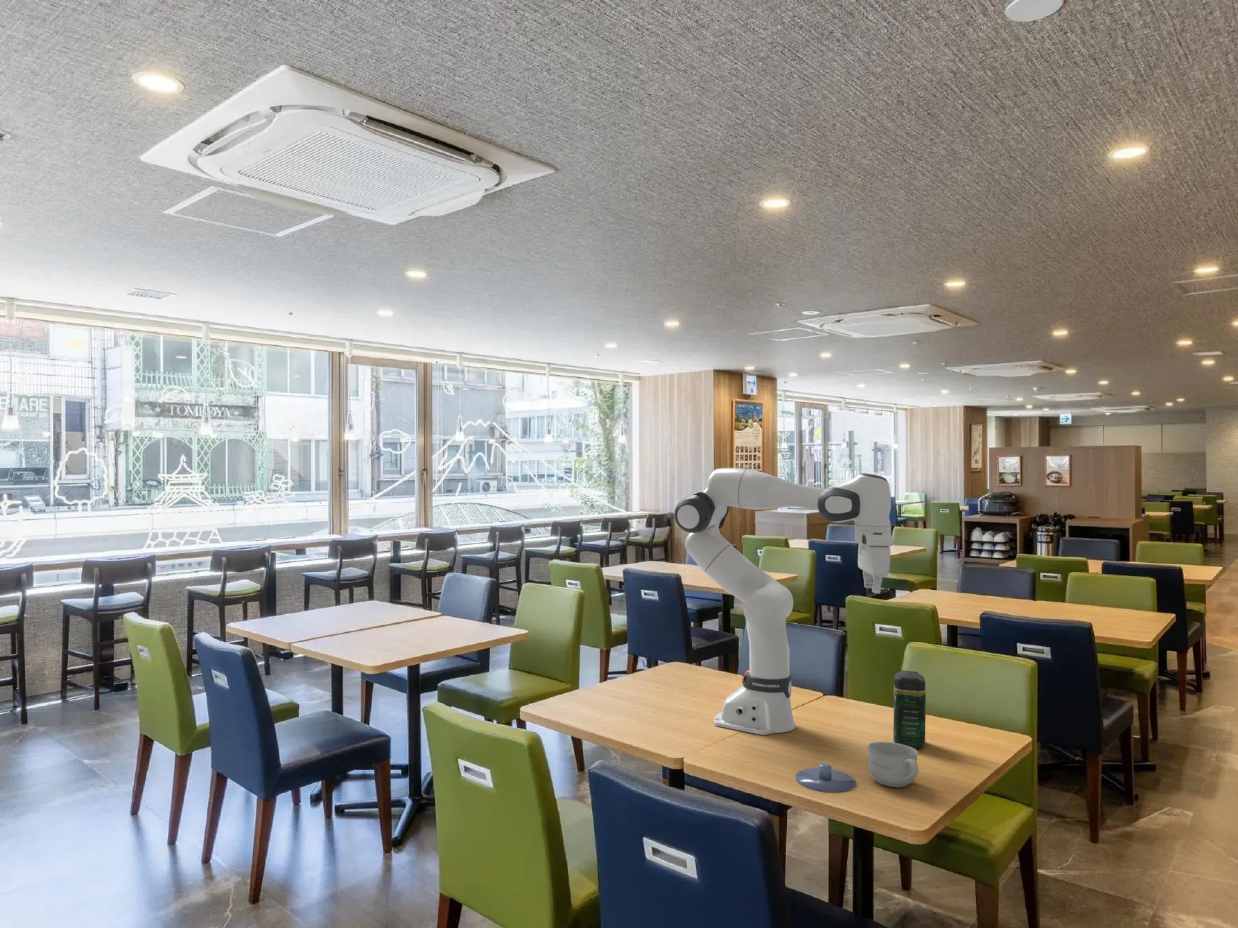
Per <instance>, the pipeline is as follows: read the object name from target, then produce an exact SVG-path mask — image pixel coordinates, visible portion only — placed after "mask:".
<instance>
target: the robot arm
mask: <svg viewBox="0 0 1238 928" xmlns="http://www.w3.org/2000/svg"><path fill="white" fill-rule="evenodd" d="M706 484H707V486H706V488H704V489H700V490H697V491H695V492H693V493H691V494H690V495H687V496H685V497H684V498H682V499H681V500H680V501H679V502H678V503H677V504H676V506H675V507H674V508H675V510H674V521H675V523H676V524H677V526H678V527H679V528H680V529H681V530H682V531H684V532H686V533H688V534H687V536H686V538H685V541H684V549H685V550H686V551H687V553H688V555H689V556H690V557H691V559H692V560H693V561H694V562H695V564H697V566H698V567H699V568H700V569H701V570H702V571H703V572H704V573H705V574H706V575H708V577H709V578H711V580H713V582H715V583H716V584H717V585H718V586H719V587H720V588H721V589H722V590H723V591H724V592H726V593H727V594H730V595H732V596H734V597H736V598H737V599H738V600H740V601H741V602H743V603H744V605H743V615H744V618H745V625H746V630H747V631H746V632H747V638H748V645H749V650H748V651H749V652H748V653H749V656H748V657H749V661H748V662H749V663H748V664H749V670H746V671H745V672H744V673H743V675H742V677H741V683H742V686H740V687H739V688H738V689H736V690H735V691H733V692H732V693H731V694H729V695H728V696H727V697H726V698H725V699H724V701H723V704H722V709H721V711H720V712H718V713H717V714H716V715H715V716H714V718H713V724H714V726H716V727H722V728H727V729H730V730H735V731H740V732H747V733H751V734H754V735H760V736H761V735H762V736H765V735H771V734H776V733H777V734H780V733H787V732H791V731H793V730H794V729H795V728H796V722H795V719H794V715H793V711H792V710H793V709H792V703H791V702H792V701H791V696H792V678H791V677H792V676H791V674H790V645H789V641H788V634H787V633H788V632H787V626H786V625H787V624H786V622H787V621H786V620H787V618H788V617H789V616H790V615H791V613H792V611H793V608H794V597H793V594H792V593H791V591H790V589H789V588H788V587H786V586H785V585H783V584H781V583H780V582H779V581H777V580H776V579H775V578H774V577H772V576H771V575H770V574H768V572H767V573H766V572H765V571H764V570H762V569H761V568H759V567H758V566H757V565H755V564H754V563H753V562H751V561H750V560H749V559H748V558H747V557H746V556H744V554H743V553H741V552H740V551H739V550H738V549H737V548H736V547H734V545H733V544H731V543H730V542H729V541H728V540H727V539H726V538H725V537H724V536H723V535H722V534H721V533H720V529H721V528H723V527H724V524H725V521H726V519H727V517H728V514H729V513H730V508H731V507H733V508H734V507H735V508H739V509H744V510H757V511H760V510H761V511H763V510H767V511H768V510H773V509H779V508H780V509H781V508H788V507H791V508H793V507H795V508H796V507H797V508H803V509H810V510H816V511H818V513H819V514H820V516H821V517H822V518H823V519H825V520H827V521H829V522H831V523H836V524H837V523H845V522H849V523H851V522H854V543H855V544H858V550H857V552H858V553H857V567H858V569H860V570H862V575H863V577H862V578H863V581H864V582H863V584H864V585H863V587H864V588H865V589H871V592H872V593H873V594H880V593H881V592H882V591H881V587H882V583H883V578H886V577H888V575H889V572H890V563H891V547H893V544H894V540H893V536H892V527H891V525H892V524H891V519H890V512H891V511H892V499H891V498H892V496H891V487H890V483H889V481H888V480H887V478H885V477H884V476H882V475H881V476H880V475H878V474H877V475H876V474H872V473H866V472H865V473H864V472H863V473H859V474H858V475H856V476H855V477H853V478H852V479H850V480H847V481H845V482H844V483H840V484H837V485H834V486H830V487H828V488H826V487H825V488H824V487H819V486H818V487H817V486H811V485H804V484H800V483H795V482H792V481H788V480H786V479H783V478H780V477H778V476H775V475H772V474H769V473H765V472H763V471H759V470H754V469H750V468H739V467H722V468H721V467H719V468H716V469H714V470H713V471H712V472H711V474H710V475H709V477H708V479H707V483H706Z"/></svg>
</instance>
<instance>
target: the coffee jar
mask: <svg viewBox="0 0 1238 928" xmlns="http://www.w3.org/2000/svg"><path fill="white" fill-rule="evenodd" d="M926 695H927V694H926V679H925V677H924V676H923V675H922V674H920V673H919V672H917V671H913V670H910V671H909V670H904V669H903V670H901V671H899V672H897V673H895V675H894V677H893V734H892V735H893V743H898V744H902V745H906V746H909V747H912V748H914V749H915V750H916V749H924V748H925V745H926V716H927V715H926V714H927V712H926V711H927V710H926V709H927V705H926V703H927V702H926V701H927V699H926V698H927V697H926Z"/></svg>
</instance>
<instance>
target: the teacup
mask: <svg viewBox="0 0 1238 928" xmlns="http://www.w3.org/2000/svg"><path fill="white" fill-rule="evenodd" d="M867 749H868V751H867V769H868V772H869V774H870V776H871V777H872V778H874V780H875V781H876V782H877V783H879V784H880V785H883V786H886V787H890V788H905V787H907V786H908V785H910V784H911V783H912V782H914V780H915V779H916V778H917V776H918V775H919V765H918V755H919V752H918V750H917V749H916V748H915V749H914V748H912V747H909V746H906V745H902V744H898V743H895V742H891V741H873V742H870V743H869V744H868V745H867Z"/></svg>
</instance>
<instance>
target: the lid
mask: <svg viewBox="0 0 1238 928" xmlns="http://www.w3.org/2000/svg"><path fill="white" fill-rule="evenodd" d="M832 766H833V765H831V764H830V763H828V762H821V763H819V764H818V767H810V768H804V769H802V770H800V771H798V772H797V773H796V775H795V779H796V782H797V783H798V785H801V786H802V787H804V788H805V789H809V790H812V791H817V792H823V793H840V792H841V793H842V792H843V793H844V792H847V791H850V790H852V789H854V788H855V785H856V783H855V778H854V777H853V776H851V775H850V774H849V773H846V772H843V771H841V770H837V769H832Z"/></svg>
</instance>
